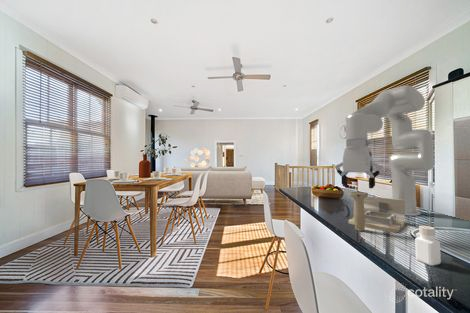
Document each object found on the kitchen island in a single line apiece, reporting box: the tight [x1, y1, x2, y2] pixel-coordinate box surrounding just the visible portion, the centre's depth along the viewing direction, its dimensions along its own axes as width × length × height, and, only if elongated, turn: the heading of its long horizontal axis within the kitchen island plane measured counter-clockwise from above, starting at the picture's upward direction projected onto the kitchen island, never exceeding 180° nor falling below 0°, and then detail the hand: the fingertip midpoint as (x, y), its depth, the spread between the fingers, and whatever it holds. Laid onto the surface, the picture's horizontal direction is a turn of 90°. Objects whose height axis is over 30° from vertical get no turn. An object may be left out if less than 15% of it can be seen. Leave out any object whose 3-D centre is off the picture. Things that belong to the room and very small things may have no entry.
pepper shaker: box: [414, 225, 442, 267], centre depth 57 cm, size 4×4×10 cm
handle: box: [348, 191, 369, 232], centre depth 84 cm, size 5×6×15 cm
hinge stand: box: [347, 195, 406, 234], centre depth 91 cm, size 16×17×10 cm
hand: (357, 187), depth 83 cm, fingers open, 9 cm apart
